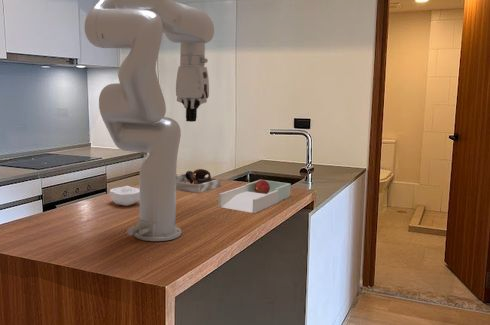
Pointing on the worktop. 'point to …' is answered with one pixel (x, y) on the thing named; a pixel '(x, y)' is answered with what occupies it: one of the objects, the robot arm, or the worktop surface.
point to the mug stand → (194, 187)
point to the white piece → (247, 200)
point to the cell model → (125, 195)
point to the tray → (274, 188)
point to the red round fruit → (262, 187)
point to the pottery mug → (198, 176)
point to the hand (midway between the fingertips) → (191, 121)
